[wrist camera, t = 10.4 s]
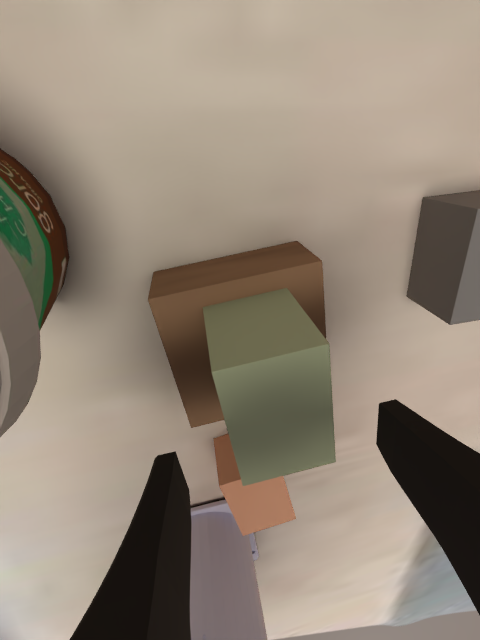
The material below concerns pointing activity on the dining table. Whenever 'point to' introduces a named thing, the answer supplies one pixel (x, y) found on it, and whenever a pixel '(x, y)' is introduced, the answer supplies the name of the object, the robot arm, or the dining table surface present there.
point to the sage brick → (272, 384)
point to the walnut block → (217, 287)
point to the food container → (25, 281)
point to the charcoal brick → (448, 257)
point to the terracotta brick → (251, 494)
